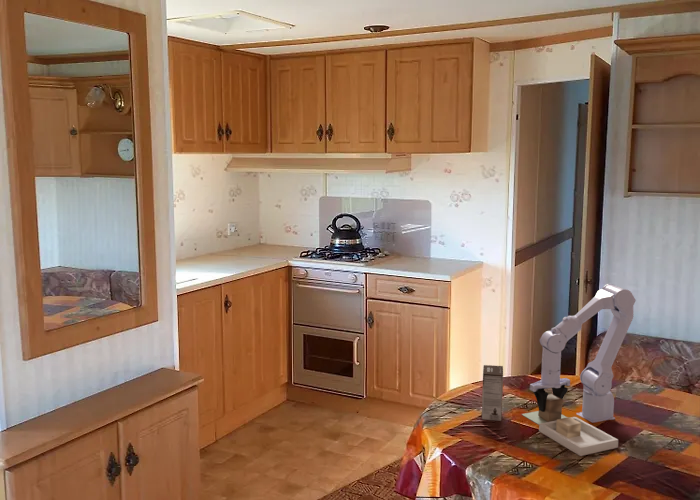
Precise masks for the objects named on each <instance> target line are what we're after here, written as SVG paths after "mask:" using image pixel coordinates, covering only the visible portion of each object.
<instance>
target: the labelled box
mask: <svg viewBox="0 0 700 500" xmlns="http://www.w3.org/2000/svg"><path fill="white" fill-rule="evenodd" d="M563 400H564V398H563V399H561V398H559V397H557V396H556V395H554V394H553V393H548V396H547V399H546V406H545V412H542V411H540V410H539V409H538V411H539V413H538V416H539V417H541V418H542V419H544V420H545V421H547V422H551V421H556V420H557V419H561V414H562V412H563ZM562 415H563V414H562Z"/></svg>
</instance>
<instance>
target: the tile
mask: <svg viewBox="0 0 700 500" xmlns="http://www.w3.org/2000/svg"><path fill="white" fill-rule="evenodd" d="M538 413H539V410H535V411H531V412H526V413H521V416H523V417H525V418H527V419H528V420H530V421H531V422H533V423H535V424H537V425H538V426H539V424H541V423H546V422H547V421H545V420H544V419H542V418H541V417H539V416H538ZM567 417H568V416H565V415H564V414H561V419H562V418H567Z"/></svg>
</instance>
